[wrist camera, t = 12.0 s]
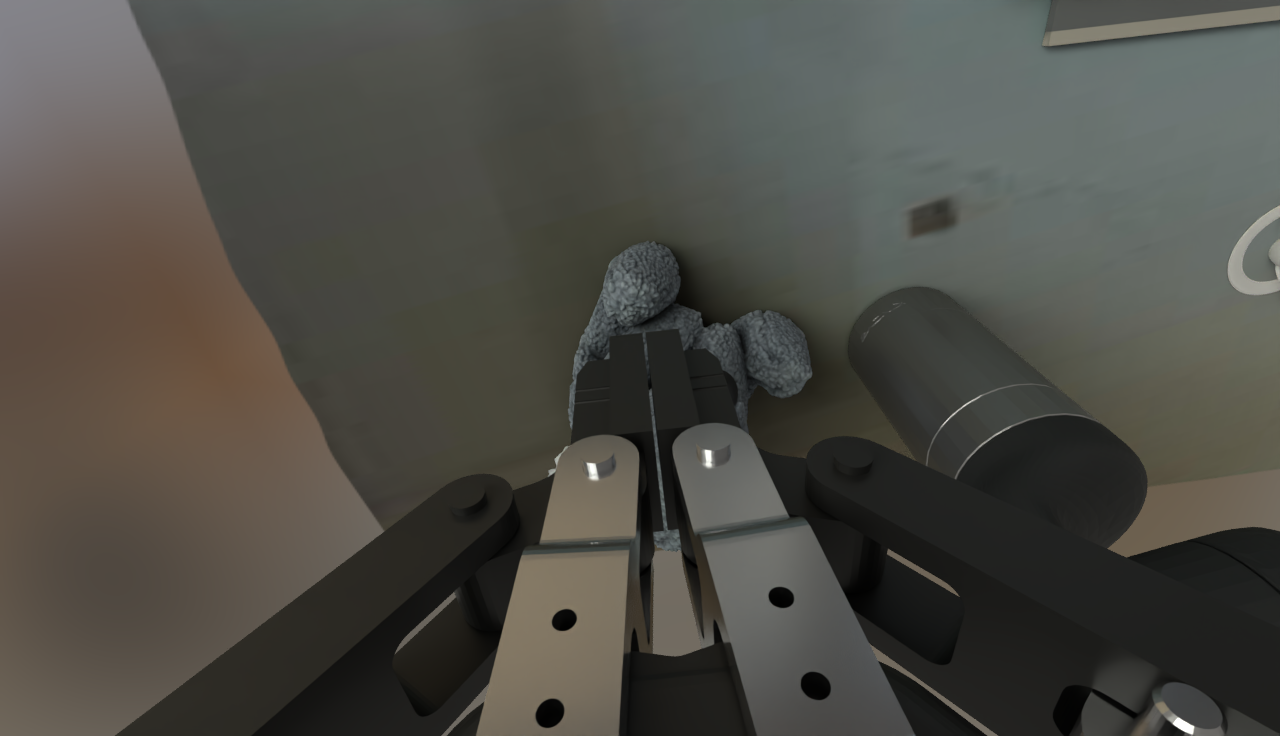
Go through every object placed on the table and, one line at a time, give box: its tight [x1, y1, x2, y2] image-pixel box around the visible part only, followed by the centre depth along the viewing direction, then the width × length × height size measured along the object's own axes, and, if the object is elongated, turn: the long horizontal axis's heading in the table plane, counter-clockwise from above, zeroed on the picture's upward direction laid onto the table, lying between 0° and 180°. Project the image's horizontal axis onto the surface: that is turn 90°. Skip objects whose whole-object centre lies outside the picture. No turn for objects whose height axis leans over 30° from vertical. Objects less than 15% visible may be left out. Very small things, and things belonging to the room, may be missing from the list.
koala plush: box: [548, 241, 812, 552], centre depth 41 cm, size 17×18×20 cm
